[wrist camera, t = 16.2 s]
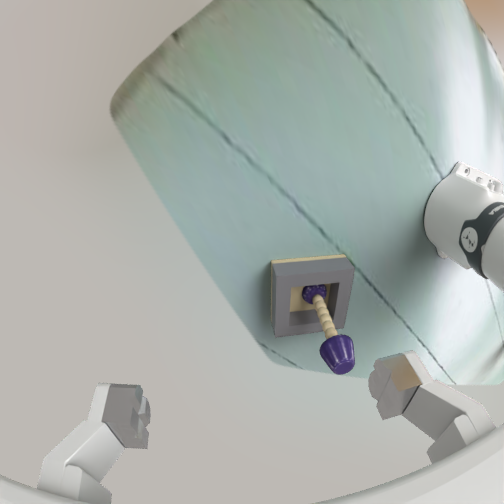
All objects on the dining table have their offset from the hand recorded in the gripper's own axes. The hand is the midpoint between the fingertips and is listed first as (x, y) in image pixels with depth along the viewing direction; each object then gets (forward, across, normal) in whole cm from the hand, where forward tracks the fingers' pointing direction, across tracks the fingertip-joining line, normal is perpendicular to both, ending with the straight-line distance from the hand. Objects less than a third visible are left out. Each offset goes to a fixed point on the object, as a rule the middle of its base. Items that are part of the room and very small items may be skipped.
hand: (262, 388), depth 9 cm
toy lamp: (+33, -13, +21) cm, 41 cm away
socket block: (+34, -12, +21) cm, 42 cm away
